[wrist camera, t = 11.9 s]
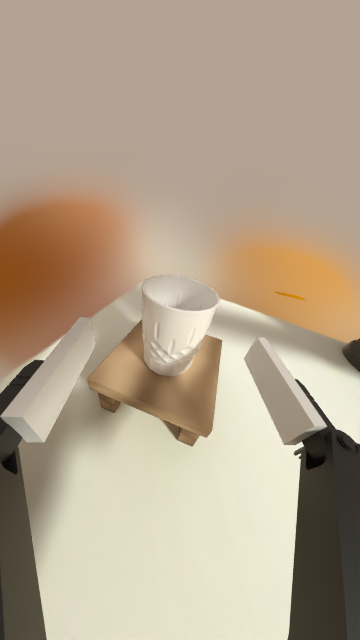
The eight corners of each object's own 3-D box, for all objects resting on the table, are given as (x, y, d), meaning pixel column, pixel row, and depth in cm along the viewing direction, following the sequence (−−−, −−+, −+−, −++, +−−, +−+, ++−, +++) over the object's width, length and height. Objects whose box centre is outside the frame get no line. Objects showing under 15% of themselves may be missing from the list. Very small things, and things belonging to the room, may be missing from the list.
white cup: (125, 359, 20) (123, 287, 14) (161, 329, 26) (169, 269, 20) (179, 394, 18) (202, 324, 12) (204, 352, 24) (228, 291, 18)
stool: (210, 366, 31) (222, 340, 27) (195, 453, 20) (212, 430, 15) (144, 342, 33) (145, 314, 29) (95, 409, 21) (87, 378, 17)
